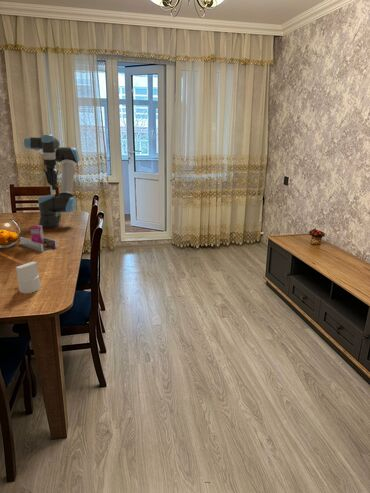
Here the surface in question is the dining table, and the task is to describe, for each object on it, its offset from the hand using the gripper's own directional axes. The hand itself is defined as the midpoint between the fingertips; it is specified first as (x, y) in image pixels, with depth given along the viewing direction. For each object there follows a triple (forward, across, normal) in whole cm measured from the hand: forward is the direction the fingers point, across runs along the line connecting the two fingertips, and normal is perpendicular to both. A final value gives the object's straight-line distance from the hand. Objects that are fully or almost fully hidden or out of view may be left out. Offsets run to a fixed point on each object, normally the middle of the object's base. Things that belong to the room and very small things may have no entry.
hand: (53, 194), depth 235 cm
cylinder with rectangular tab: (+29, +69, -60) cm, 96 cm away
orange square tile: (+27, +18, -25) cm, 41 cm away
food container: (+29, -40, +26) cm, 56 cm away
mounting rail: (+28, +18, -25) cm, 42 cm away
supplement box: (+26, +18, -25) cm, 40 cm away
